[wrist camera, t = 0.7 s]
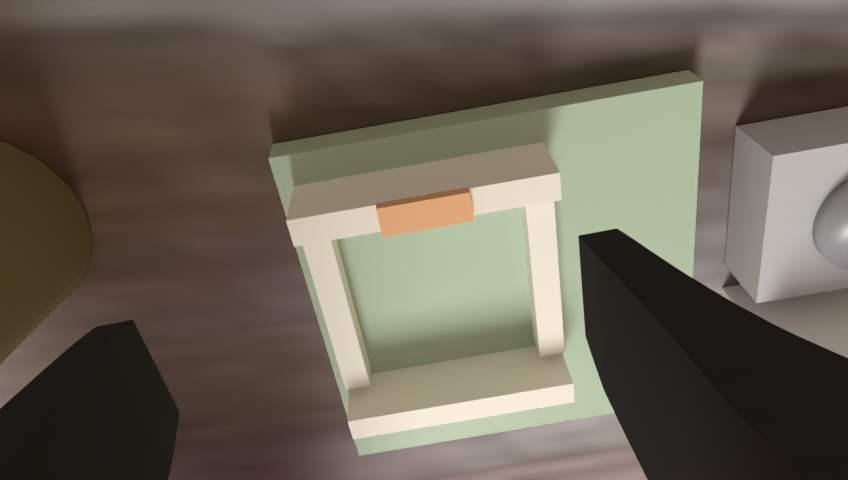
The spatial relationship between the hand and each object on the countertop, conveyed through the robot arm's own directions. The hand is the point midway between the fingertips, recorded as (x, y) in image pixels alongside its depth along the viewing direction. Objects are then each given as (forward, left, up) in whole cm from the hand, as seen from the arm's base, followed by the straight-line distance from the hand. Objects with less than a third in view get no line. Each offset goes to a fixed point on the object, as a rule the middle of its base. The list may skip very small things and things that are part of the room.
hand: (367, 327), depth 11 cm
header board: (-6, -3, -10) cm, 12 cm away
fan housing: (-5, -14, -10) cm, 17 cm away
